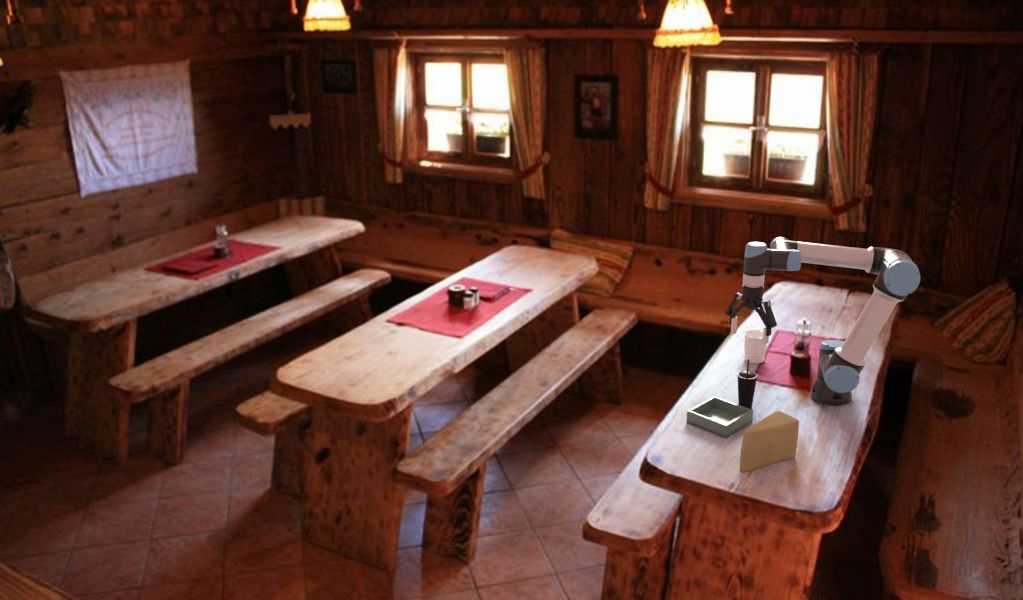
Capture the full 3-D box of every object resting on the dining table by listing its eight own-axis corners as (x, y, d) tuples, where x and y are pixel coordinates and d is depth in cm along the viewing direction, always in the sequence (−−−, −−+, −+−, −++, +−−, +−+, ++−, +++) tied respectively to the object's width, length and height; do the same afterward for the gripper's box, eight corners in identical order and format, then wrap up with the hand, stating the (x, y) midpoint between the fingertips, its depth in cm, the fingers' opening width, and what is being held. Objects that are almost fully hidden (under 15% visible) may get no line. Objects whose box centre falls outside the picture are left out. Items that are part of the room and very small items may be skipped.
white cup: (761, 366, 373) (763, 339, 369) (739, 361, 378) (741, 335, 374) (768, 358, 380) (770, 332, 376) (747, 353, 385) (749, 328, 381)
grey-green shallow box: (752, 422, 326) (752, 410, 325) (725, 438, 316) (726, 425, 314) (713, 407, 338) (714, 395, 336) (686, 422, 327) (687, 410, 326)
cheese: (752, 478, 290) (755, 438, 285) (729, 466, 298) (732, 426, 293) (797, 458, 302) (800, 418, 296) (774, 446, 309) (777, 408, 304)
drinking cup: (739, 401, 343) (742, 353, 336) (758, 405, 339) (761, 358, 332) (731, 408, 337) (734, 360, 330) (751, 413, 333) (754, 365, 326)
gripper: (789, 289, 315) (784, 344, 322) (729, 274, 332) (726, 327, 339) (778, 294, 310) (773, 350, 317) (718, 279, 327) (715, 332, 334)
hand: (749, 338), depth 328 cm, fingers open, 13 cm apart
